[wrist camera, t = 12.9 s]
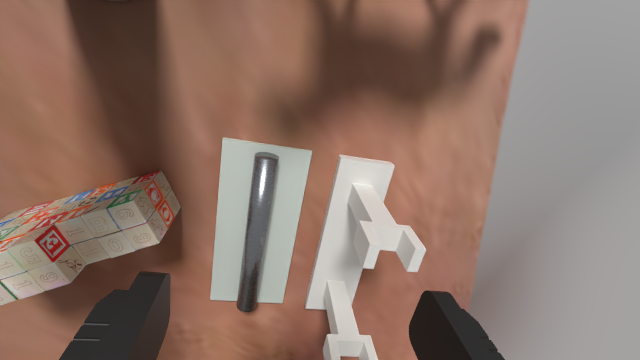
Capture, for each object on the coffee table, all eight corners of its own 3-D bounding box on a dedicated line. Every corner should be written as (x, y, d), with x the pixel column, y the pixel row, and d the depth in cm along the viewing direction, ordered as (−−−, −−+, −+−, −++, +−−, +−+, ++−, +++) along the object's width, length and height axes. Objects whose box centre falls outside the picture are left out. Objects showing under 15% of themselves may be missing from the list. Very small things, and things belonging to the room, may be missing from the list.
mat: (210, 297, 52) (210, 299, 52) (223, 137, 42) (222, 138, 41) (282, 300, 55) (282, 303, 54) (311, 150, 44) (312, 151, 43)
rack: (304, 301, 56) (315, 399, 41) (339, 154, 45) (370, 213, 30) (348, 304, 57) (373, 398, 42) (391, 162, 46) (445, 221, 31)
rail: (255, 296, 53) (257, 311, 50) (236, 297, 52) (236, 312, 49) (277, 153, 43) (280, 161, 40) (253, 150, 42) (255, 159, 39)
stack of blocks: (162, 167, 42) (121, 214, 31) (182, 206, 45) (151, 261, 34) (10, 212, 42) (-85, 274, 31) (39, 248, 45) (-38, 317, 34)
